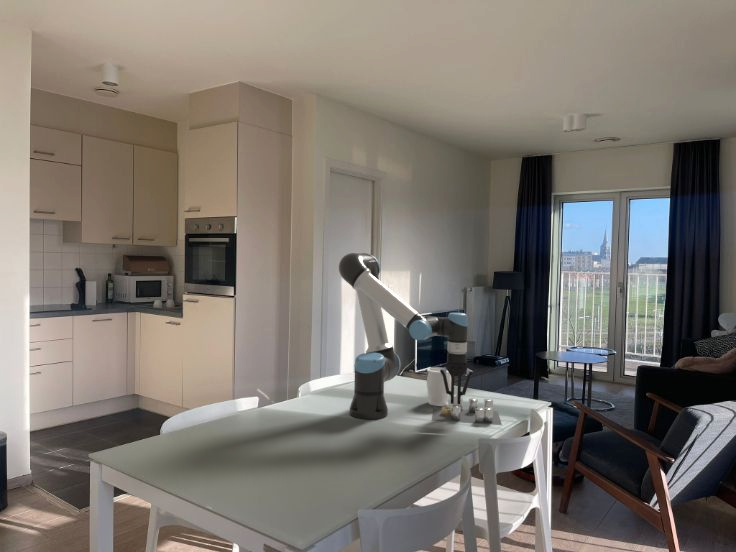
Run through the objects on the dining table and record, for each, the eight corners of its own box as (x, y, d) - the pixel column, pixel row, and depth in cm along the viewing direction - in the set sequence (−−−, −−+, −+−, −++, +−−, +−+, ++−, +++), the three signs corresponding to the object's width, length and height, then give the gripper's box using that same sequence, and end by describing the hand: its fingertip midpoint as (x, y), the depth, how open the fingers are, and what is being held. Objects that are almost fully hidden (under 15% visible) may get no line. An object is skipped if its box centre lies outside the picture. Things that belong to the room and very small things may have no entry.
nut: (441, 415, 223) (442, 409, 223) (442, 412, 228) (442, 406, 228) (453, 416, 222) (453, 410, 222) (453, 412, 227) (453, 406, 227)
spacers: (450, 421, 215) (451, 408, 215) (450, 408, 234) (451, 396, 234) (495, 424, 213) (496, 411, 213) (492, 411, 231) (492, 398, 231)
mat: (431, 422, 216) (431, 420, 216) (433, 408, 235) (433, 407, 235) (501, 426, 212) (501, 424, 212) (497, 412, 231) (497, 411, 231)
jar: (452, 408, 237) (453, 372, 236) (427, 407, 237) (428, 371, 236) (449, 401, 247) (450, 367, 247) (425, 401, 247) (426, 366, 247)
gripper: (440, 353, 221) (438, 413, 221) (474, 354, 219) (472, 415, 220) (440, 350, 228) (438, 408, 229) (473, 351, 226) (471, 410, 227)
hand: (455, 412), depth 224 cm, fingers closed
